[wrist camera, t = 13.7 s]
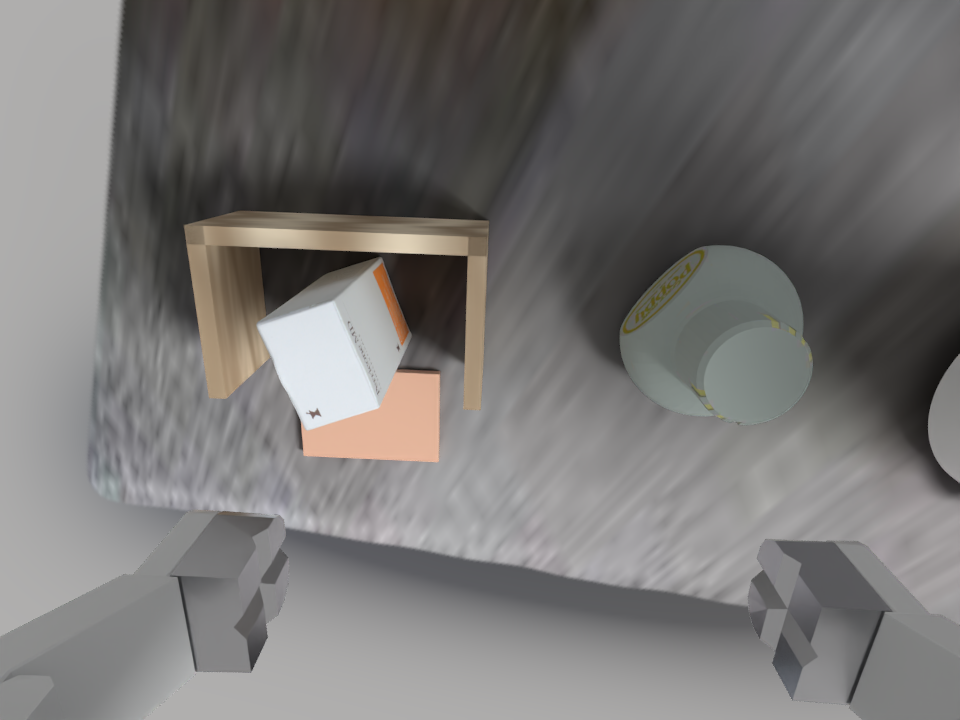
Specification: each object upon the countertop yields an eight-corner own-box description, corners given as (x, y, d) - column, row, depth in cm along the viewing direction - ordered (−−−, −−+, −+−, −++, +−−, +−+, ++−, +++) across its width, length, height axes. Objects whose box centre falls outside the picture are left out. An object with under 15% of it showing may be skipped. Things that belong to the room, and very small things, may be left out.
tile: (440, 371, 40) (439, 374, 39) (439, 457, 42) (438, 462, 42) (299, 364, 40) (296, 368, 40) (306, 451, 43) (303, 455, 42)
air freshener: (712, 215, 36) (788, 241, 26) (798, 298, 38) (898, 349, 28) (592, 340, 39) (622, 402, 30) (675, 411, 41) (729, 491, 31)
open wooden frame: (489, 220, 36) (487, 237, 30) (483, 366, 40) (480, 410, 33) (239, 210, 36) (183, 225, 30) (256, 356, 40) (209, 398, 33)
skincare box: (414, 335, 39) (382, 412, 28) (357, 353, 40) (303, 435, 29) (382, 251, 37) (333, 298, 26) (322, 271, 38) (249, 325, 27)
